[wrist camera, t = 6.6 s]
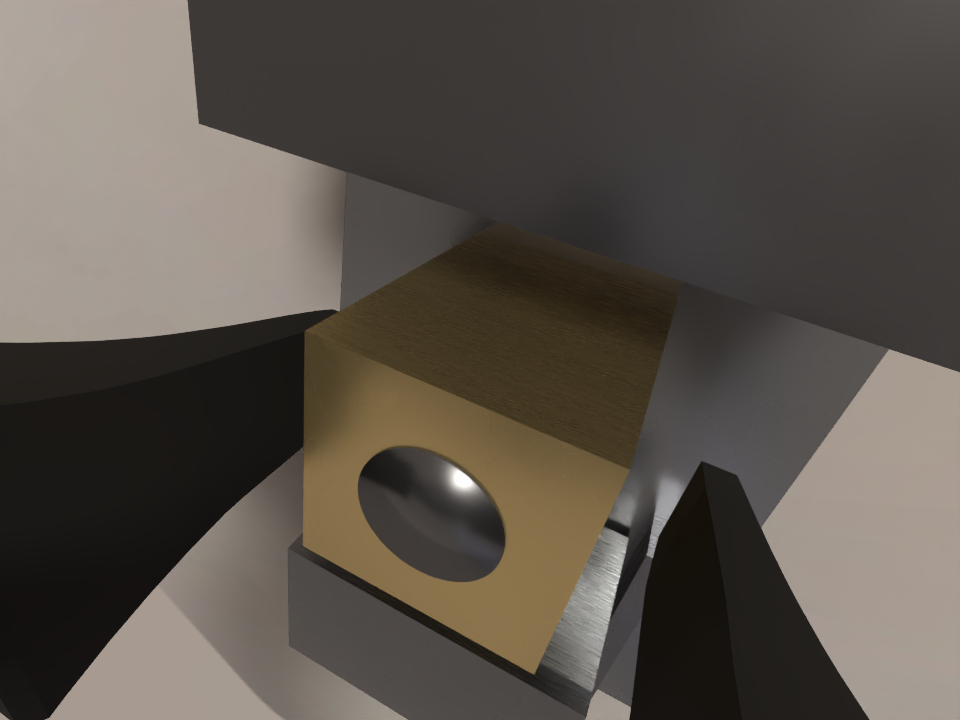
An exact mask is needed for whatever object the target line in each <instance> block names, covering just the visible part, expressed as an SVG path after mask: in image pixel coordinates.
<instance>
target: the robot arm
mask: <svg viewBox="0 0 960 720" xmlns="http://www.w3.org/2000/svg"><path fill="white" fill-rule="evenodd" d="M337 312H338V311H336V310H321V311H313V312H306V313H300V314H294V315H288V316H282V317H277V318H271V319H265V320H260V321H254V322H248V323H243V324H237V325H231V326H225V327H219V328H212V329H205V330H198V331H191V332H185V333H178V334H171V335H162V336H153V337H143V338H132V339H119V340H105V341H82V342H41V343H0V712H1V713H2V714H3V715H4V716H6V717H7V718H8V719H9V720H45V719H47V718H49V717H50V716H51V715H52V713H53V712H54V711H55V709H56V708H57V707H58V705H59V704H60V703H61V701H62V700H63V699H64V697H65V696H66V695H67V694H68V692H69V691H70V690H71V689H72V687H73V686H74V685H75V684H76V682H77V681H78V680H79V679H80V677H81V676H82V675H83V674H84V672H85V671H86V670H87V669H88V667H89V666H90V665H91V663H92V662H93V661H94V659H96V657H97V656H98V655H99V653H100V652H101V651H102V650H103V648H104V647H105V646H106V645H107V643H108V642H109V641H110V640H111V639H112V637H113V636H114V635H115V634H116V633H117V632H118V630H119V629H120V628H121V627H122V626H123V625H124V623H125V622H126V621H127V620H128V618H130V616H131V615H132V614H133V613H134V612H135V610H136V609H137V608H138V607H139V606H140V605H141V603H142V602H143V601H144V600H145V599H146V598H147V596H148V595H149V594H150V593H151V592H152V591H153V590H154V589H155V587H156V586H157V585H158V584H159V583H160V582H161V581H162V580H163V579H164V578H165V576H166V575H167V574H168V573H169V572H170V571H171V570H172V569H173V568H174V567H175V566H176V564H177V563H178V562H179V561H180V560H181V559H182V558H183V557H184V556H185V555H186V553H187V552H188V551H189V550H190V549H191V548H192V547H193V546H194V545H195V544H196V543H197V542H198V541H199V540H200V539H201V538H202V537H203V536H204V535H205V534H206V533H207V532H208V531H209V530H210V529H211V528H212V527H213V525H214V524H215V523H216V522H217V521H218V520H219V519H220V518H221V517H222V516H223V515H224V514H225V513H226V512H227V511H229V510H230V509H231V508H232V507H233V506H234V505H235V504H236V503H237V502H238V501H239V500H241V499H242V498H243V497H244V496H245V495H246V494H248V493H249V492H250V491H251V490H252V489H253V488H255V487H256V486H257V485H258V484H259V483H261V482H262V481H263V480H264V479H265V478H267V477H268V476H269V475H270V474H271V473H272V472H274V471H275V470H276V469H277V468H278V467H280V466H281V465H282V464H283V463H284V462H286V461H287V460H288V459H289V458H290V457H291V456H293V455H294V454H295V453H296V452H297V451H299V450H300V449H301V448H302V447H303V446H304V339H305V330H307V329H309V328H311V327H312V326H314V325H316V324H318V323H320V322H321V321H323V320H325V319H327V318H328V317H330V316H332V315H334V314H336V313H337ZM629 720H869V718H868V717H867V715H866V714H865V712H864V711H863V709H862V708H861V706H860V705H859V703H858V702H857V700H856V699H855V697H854V696H853V694H852V692H851V691H850V689H849V688H848V686H847V685H846V683H845V682H844V680H843V679H842V677H841V676H840V674H839V672H838V671H837V669H836V668H835V666H834V664H833V663H832V661H831V659H830V658H829V656H828V655H827V653H826V651H825V650H824V648H823V646H822V644H821V643H820V641H819V639H818V637H817V636H816V634H815V632H814V630H813V628H812V627H811V625H810V623H809V621H808V620H807V618H806V616H805V614H804V613H803V611H802V609H801V607H800V606H799V604H798V602H797V600H796V598H795V596H794V594H793V592H792V590H791V589H790V587H789V585H788V583H787V581H786V579H785V577H784V575H783V573H782V571H781V569H780V567H779V565H778V563H777V561H776V559H775V557H774V555H773V553H772V551H771V549H770V546H769V544H768V542H767V540H766V538H765V536H764V533H763V531H762V529H761V527H760V525H759V522H758V520H757V518H756V516H755V514H754V511H753V509H752V507H751V505H750V502H749V500H748V498H747V496H746V493H745V491H744V489H743V487H742V484H741V482H740V480H739V478H738V476H737V475H735V474H733V473H731V472H728V471H726V470H723V469H721V468H718V467H716V466H713V465H711V464H709V463H706V462H704V461H701V462H700V464H699V466H698V468H697V470H696V471H695V473H694V475H693V477H692V478H691V480H690V482H689V484H688V485H687V487H686V489H685V491H684V492H683V494H682V496H681V498H680V500H679V501H678V503H677V505H676V507H675V508H674V510H673V512H672V514H671V515H670V517H669V519H668V521H667V522H666V524H665V526H664V528H663V529H662V531H661V533H660V535H659V537H658V540H657V544H656V548H655V551H654V555H653V559H652V563H651V567H650V571H649V575H648V579H647V583H646V588H645V596H644V604H643V612H642V620H641V628H640V636H639V645H638V654H637V662H636V671H635V679H634V688H633V696H632V705H631V713H630V719H629Z"/></svg>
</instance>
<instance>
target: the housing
mask: <svg viewBox="0 0 960 720" xmlns="http://www.w3.org/2000/svg"><path fill="white" fill-rule="evenodd" d="M677 300H678V295H675V294H672V293H669V292H666V291H663V290H660V289H657V288H654V287H651V286H648V285H645V284H642V283H639V282H636V281H633V280H630V279H627V278H624V277H621V276H618V275H615V274H612V273H609V272H606V271H603V270H600V269H596V268H593V267H590V266H587V265H584V264H581V263H578V262H575V261H572V260H569V259H566V258H563V257H560V256H557V255H554V254H551V253H548V252H545V251H542V250H539V249H536V248H533V247H530V246H527V245H524V244H521V243H518V242H515V241H512V240H509V239H506V238H503V237H500V236H497V235H494V234H491V233H488V232H485V231H481V232H479V233H477V234H475V235H474V236H472V237H470V238H468V239H467V240H465V241H463V242H461V243H459V244H458V245H456V246H454V247H452V248H451V249H449V250H447V251H445V252H444V253H442V254H440V255H438V256H436V257H435V258H433V259H431V260H429V261H428V262H426V263H424V264H422V265H420V266H419V267H417V268H415V269H413V270H412V271H410V272H408V273H406V274H405V275H403V276H401V277H399V278H397V279H396V280H394V281H392V282H390V283H389V284H387V285H385V286H383V287H382V288H380V289H378V290H376V291H374V292H373V293H371V294H369V295H367V296H366V297H364V298H362V299H360V300H359V301H357V302H355V303H353V304H351V305H350V306H348V307H346V308H344V309H343V310H341V311H339V312H337V313H336V314H334V315H332V316H330V317H328V318H327V319H325V320H323V321H321V322H320V323H318V324H316V325H314V326H312V327H311V328H309V329H307V330H305V339H304V469H303V546H304V547H306V548H308V549H309V550H311V551H313V552H315V553H317V554H318V555H320V556H322V557H324V558H326V559H327V560H329V561H331V562H333V563H334V564H336V565H338V566H340V567H342V568H343V569H345V570H347V571H349V572H351V573H352V574H354V575H356V576H358V577H360V578H361V579H363V580H365V581H367V582H369V583H370V584H372V585H374V586H376V587H378V588H379V589H381V590H383V591H385V592H387V593H388V594H390V595H392V596H394V597H396V598H397V599H399V600H401V601H403V602H404V603H406V604H408V605H410V606H412V607H413V608H415V609H417V610H419V611H421V612H422V613H424V614H426V615H428V616H430V617H431V618H433V619H435V620H437V621H439V622H440V623H442V624H444V625H446V626H448V627H449V628H451V629H453V630H455V631H457V632H458V633H460V634H462V635H464V636H465V637H467V638H469V639H471V640H473V641H474V642H476V643H478V644H480V645H482V646H483V647H485V648H487V649H489V650H491V651H492V652H494V653H496V654H498V655H500V656H501V657H503V658H505V659H507V660H509V661H510V662H512V663H514V664H516V665H518V666H519V667H521V668H523V669H525V670H527V671H528V672H530V673H532V674H535V672H536V670H537V667H538V665H539V663H540V661H541V659H542V657H543V655H544V652H545V650H546V648H547V646H548V644H549V642H550V640H551V638H552V635H553V633H554V631H555V629H556V627H557V625H558V623H559V621H560V618H561V616H562V614H563V612H564V610H565V608H566V606H567V603H568V601H569V599H570V597H571V595H572V593H573V591H574V589H575V586H576V584H577V582H578V580H579V578H580V576H581V574H582V571H583V569H584V567H585V565H586V563H587V561H588V559H589V557H590V554H591V552H592V550H593V548H594V546H595V544H596V542H597V540H598V537H599V535H600V533H601V531H602V529H603V527H604V525H605V522H606V520H607V518H608V516H609V514H610V512H611V510H612V508H613V505H614V503H615V501H616V499H617V497H618V495H619V493H620V491H621V488H622V486H623V484H624V482H625V480H626V478H627V476H628V473H629V471H630V469H631V465H632V461H633V458H634V454H635V451H636V447H637V444H638V440H639V436H640V433H641V429H642V426H643V422H644V418H645V415H646V411H647V408H648V404H649V400H650V397H651V393H652V390H653V386H654V383H655V379H656V375H657V372H658V368H659V365H660V361H661V357H662V354H663V350H664V347H665V343H666V339H667V336H668V332H669V329H670V325H671V322H672V318H673V314H674V311H675V307H676V304H677Z"/></svg>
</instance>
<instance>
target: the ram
mask: <svg viewBox="0 0 960 720" xmlns="http://www.w3.org/2000/svg"><path fill="white" fill-rule="evenodd" d="M628 540H629V538H628V537H626V536H624V535H621V534H619V533H617V532H615V531H613V530H611V529H608V528H606V527H603V529H602V531H601V533H600V535H599V537H598V540H597V542H596V544H595V546H594V548H593V550H592V552H591V554H590V557H589V559H588V561H587V563H586V565H585V567H584V569H583V571H582V574H581V576H580V578H579V580H578V582H577V584H576V586H575V589H574V591H573V593H572V595H571V597H570V599H569V601H568V603H567V606H566V608H565V610H564V612H563V614H562V616H561V618H560V621H559V623H558V625H557V627H556V629H555V631H554V633H553V635H552V638H551V640H550V642H549V644H548V646H547V648H546V650H545V652H544V655H543V657H542V659H541V661H540V663H539V665H538V667H537V670H536V672H535V674H532V673H530V672H528V671H527V670H525V669H523V668H521V667H519V666H518V665H516V664H514V663H512V662H510V661H509V660H507V659H505V658H503V657H501V656H500V655H498V654H496V653H494V652H492V651H491V650H489V649H487V648H485V647H483V646H482V645H480V644H478V643H476V642H474V641H473V640H471V639H469V638H467V637H465V636H464V635H462V634H460V633H458V632H457V631H455V630H453V629H451V628H449V627H448V626H446V625H444V624H442V623H440V622H439V621H437V620H435V619H433V618H431V617H430V616H428V615H426V614H424V613H422V612H421V611H419V610H417V609H415V608H413V607H412V606H410V605H408V604H406V603H404V602H403V601H401V600H399V599H397V598H396V597H394V596H392V595H390V594H388V593H387V592H385V591H383V590H381V589H379V588H378V587H376V586H374V585H372V584H370V583H369V582H367V581H365V580H363V579H361V578H360V577H358V576H356V575H354V574H352V573H351V572H349V571H347V570H345V569H343V568H342V567H340V566H338V565H336V564H334V563H333V562H331V561H329V560H327V559H326V558H324V557H322V556H320V555H318V554H317V553H315V552H313V551H311V550H309V549H308V548H306V547H304V546H303V533H302V534H301V535H300V537H299V538H298V539H297V540H296V541H295V542H294V543H293V544H292V545H291V546H290V547H289V548H288V598H289V646H291V647H293V648H294V649H296V650H297V651H299V652H301V653H302V654H304V655H305V656H307V657H309V658H310V659H312V660H313V661H315V662H317V663H318V664H320V665H321V666H323V667H325V668H326V669H328V670H329V671H331V672H333V673H334V674H336V675H337V676H339V677H341V678H342V679H344V680H346V681H347V682H349V683H350V684H352V685H354V686H355V687H357V688H358V689H360V690H362V691H363V692H365V693H366V694H368V695H370V696H371V697H373V698H374V699H376V700H378V701H379V702H381V703H382V704H384V705H386V706H387V707H389V708H390V709H392V710H394V711H395V712H397V713H398V714H400V715H402V716H403V717H405V718H406V719H408V720H585V718H586V716H587V712H588V708H589V704H590V699H591V695H592V691H593V687H594V683H595V679H596V674H597V670H598V666H599V662H600V658H601V653H602V649H603V645H604V641H605V637H606V633H607V628H608V624H609V620H610V616H611V612H612V607H613V603H614V599H615V595H616V591H617V586H618V582H619V578H620V574H621V570H622V566H623V561H624V557H625V553H626V549H627V545H628Z"/></svg>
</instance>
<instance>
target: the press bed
mask: <svg viewBox="0 0 960 720" xmlns="http://www.w3.org/2000/svg"><path fill="white" fill-rule="evenodd" d="M188 9H189V20H190V31H191V42H192V52H193V63H194V74H195V85H196V96H197V107H198V118H199V124H202V125H205V126H208V127H211V128H214V129H217V130H220V131H223V132H227V133H230V134H233V135H236V136H239V137H242V138H245V139H248V140H251V141H254V142H257V143H260V144H263V145H266V146H269V147H272V148H276V149H279V150H282V151H285V152H288V153H291V154H294V155H297V156H300V157H303V158H306V159H309V160H312V161H315V162H318V163H321V164H324V165H328V166H331V167H334V168H337V169H340V170H343V171H346V172H347V185H346V204H345V224H344V243H343V263H342V282H341V302H340V311H341V310H343V309H344V308H346V307H348V306H350V305H351V304H353V303H355V302H357V301H359V300H360V299H362V298H364V297H366V296H367V295H369V294H371V293H373V292H374V291H376V290H378V289H380V288H382V287H383V286H385V285H387V284H389V283H390V282H392V281H394V280H396V279H397V278H399V277H401V276H403V275H405V274H406V273H408V272H410V271H412V270H413V269H415V268H417V267H419V266H420V265H422V264H424V263H426V262H428V261H429V260H431V259H433V258H435V257H436V256H438V255H440V254H442V253H444V252H445V251H447V250H449V249H451V248H452V247H454V246H456V245H458V244H459V243H461V242H463V241H465V240H467V239H468V238H470V237H472V236H474V235H475V234H477V233H479V232H481V231H485V232H488V233H491V234H494V235H497V236H500V237H503V238H506V239H509V240H512V241H515V242H518V243H521V244H524V245H527V246H530V247H533V248H536V249H539V250H542V251H545V252H548V253H551V254H554V255H557V256H560V257H563V258H566V259H569V260H572V261H575V262H578V263H581V264H584V265H587V266H590V267H593V268H596V269H600V270H603V271H606V272H609V273H612V274H615V275H618V276H621V277H624V278H627V279H630V280H633V281H636V282H639V283H642V284H645V285H648V286H651V287H654V288H657V289H660V290H663V291H666V292H669V293H672V294H675V295H678V300H677V304H676V307H675V311H674V314H673V318H672V322H671V325H670V329H669V332H668V336H667V339H666V343H665V347H664V350H663V354H662V357H661V361H660V365H659V368H658V372H657V375H656V379H655V383H654V386H653V390H652V393H651V397H650V400H649V404H648V408H647V411H646V415H645V418H644V422H643V426H642V429H641V433H640V436H639V440H638V444H637V447H636V451H635V454H634V458H633V461H632V465H631V469H630V471H629V473H628V476H627V478H626V480H625V482H624V484H623V486H622V488H621V491H620V493H619V495H618V497H617V499H616V501H615V503H614V505H613V508H612V510H611V512H610V514H609V516H608V518H607V520H606V522H605V525H604V527H606V528H608V529H611V530H613V531H615V532H617V533H619V534H621V535H624V536H626V537H628V538H629V540H628V545H627V549H626V553H625V557H624V561H623V566H622V570H621V574H620V578H619V582H618V586H617V591H616V595H615V599H614V603H613V607H612V612H611V616H610V620H609V624H608V628H607V633H606V637H605V641H604V645H603V649H602V653H601V658H600V662H599V666H598V670H597V674H596V679H595V683H594V687H593V691H592V695H591V698H592V697H593V695H594V693H595V692H596V690H597V689H599V690H601V691H602V692H604V693H606V694H608V695H610V696H612V697H613V698H615V699H617V700H619V701H621V702H623V703H624V704H626V705H628V706H630V707H631V705H632V696H633V688H634V679H635V671H636V662H637V654H638V645H639V636H640V628H641V620H642V612H643V604H644V596H645V588H646V583H647V579H648V575H649V571H650V567H651V563H652V559H653V555H654V551H655V548H656V544H657V540H658V537H659V535H660V533H661V531H662V529H663V528H664V526H665V524H666V522H667V521H668V519H669V517H670V515H671V514H672V512H673V510H674V508H675V507H676V505H677V503H678V501H679V500H680V498H681V496H682V494H683V492H684V491H685V489H686V487H687V485H688V484H689V482H690V480H691V478H692V477H693V475H694V473H695V471H696V470H697V468H698V466H699V464H700V462H701V461H704V462H706V463H709V464H711V465H713V466H716V467H718V468H721V469H723V470H726V471H728V472H731V473H733V474H735V475H737V476H738V478H739V480H740V482H741V484H742V487H743V489H744V491H745V493H746V496H747V498H748V500H749V502H750V505H751V507H752V509H753V511H754V514H755V516H756V518H757V520H758V522H759V525H760V527H762V525H763V524H764V523H765V521H766V520H767V518H768V517H769V516H770V514H771V513H772V511H773V510H774V509H775V507H776V506H777V504H778V503H779V502H780V500H781V499H782V497H783V496H784V495H785V493H786V492H787V491H788V489H789V488H790V486H791V485H792V484H793V482H794V481H795V479H796V478H797V477H798V475H799V474H800V472H801V471H802V470H803V468H804V467H805V465H806V464H807V463H808V461H809V460H810V458H811V457H812V456H813V454H814V453H815V452H816V450H817V449H818V447H819V446H820V445H821V443H822V442H823V440H824V439H825V438H826V436H827V435H828V433H829V432H830V431H831V429H832V428H833V426H834V425H835V424H836V422H837V421H838V419H839V418H840V417H841V415H842V414H843V412H844V411H845V410H846V408H847V407H848V406H849V404H850V403H851V401H852V400H853V399H854V397H855V396H856V394H857V393H858V392H859V390H860V389H861V387H862V386H863V385H864V383H865V382H866V380H867V379H868V378H869V376H870V375H871V373H872V372H873V371H874V369H875V368H876V366H877V365H878V364H879V362H880V361H881V360H882V358H883V357H884V355H885V354H886V353H887V351H888V350H889V349H891V350H894V351H897V352H900V353H903V354H906V355H909V356H912V357H915V358H918V359H921V360H924V361H927V362H931V363H934V364H937V365H940V366H943V367H946V368H949V369H952V370H955V371H958V372H960V0H188ZM590 700H591V699H590Z"/></svg>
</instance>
